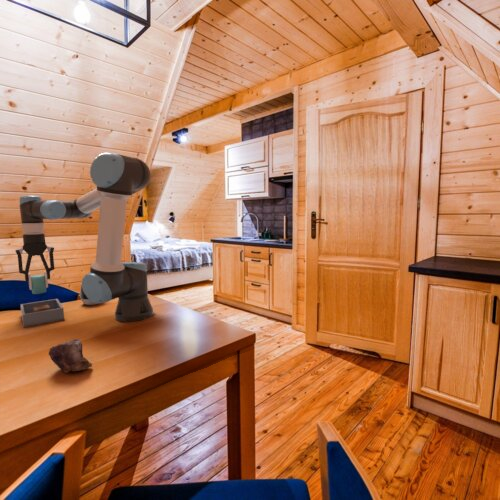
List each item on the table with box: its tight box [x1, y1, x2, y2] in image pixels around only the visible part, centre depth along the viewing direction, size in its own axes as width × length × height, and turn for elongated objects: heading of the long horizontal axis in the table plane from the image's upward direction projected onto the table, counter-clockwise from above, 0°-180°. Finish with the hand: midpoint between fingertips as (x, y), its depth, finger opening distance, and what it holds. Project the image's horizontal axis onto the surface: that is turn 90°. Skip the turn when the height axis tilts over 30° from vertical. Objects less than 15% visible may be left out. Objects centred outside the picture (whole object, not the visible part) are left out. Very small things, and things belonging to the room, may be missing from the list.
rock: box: [48, 338, 93, 374], centre depth 88 cm, size 12×9×10 cm
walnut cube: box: [33, 305, 50, 312], centre depth 128 cm, size 5×5×5 cm
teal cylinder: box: [31, 274, 47, 295], centre depth 133 cm, size 5×5×7 cm
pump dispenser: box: [79, 283, 99, 306], centre depth 150 cm, size 10×10×15 cm
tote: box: [19, 298, 65, 328], centre depth 131 cm, size 18×14×5 cm
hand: (38, 287), depth 133 cm, fingers closed on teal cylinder, 5 cm apart
